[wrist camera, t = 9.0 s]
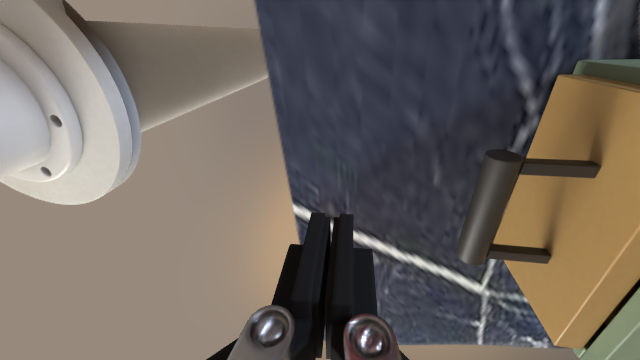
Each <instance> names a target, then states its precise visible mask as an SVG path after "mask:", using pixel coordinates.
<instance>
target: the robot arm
mask: <svg viewBox="0 0 640 360" xmlns="http://www.w3.org/2000/svg"><path fill="white" fill-rule="evenodd" d="M82 147H83V140H82V130H81V126H80V123H79V119H78V116H77V113H76V111H75V109H74V107H73V104H72V102H71V100H70V98H69V96H68V95H67V93H66V91H65V90H64V88H63V86H62V85H61V83H60V81H59V80H58V79H57V77H56V76H55V75H54V73H53V72H52V71H51V69H50V68H49V67H48V66H47V64H46V63H45V62H44V61H43V60H42V59H41V58H40V57H39V56H38V55H37V54H36V52H35V51H34V50H33V49H32V48H31V47H30V46H29V45H28V44H26V43H25V42H24V41H23V40H22V39H20V38H19V37H18V36H17V35H16V34H15V33H13V32H12V31H11V30H10V29H8V28H7V27H5V26H4V25H2V24H1V23H0V178H3V177H5V176H8V175H9V176H12V177H15V178H18V179H22V180H26V181H33V182H47V181H51V180H54V179H57V178H59V177H61V176H63V175H65V174H67V173H69V172H71V171H72V170H73V169H74V168H75V167H76V166H77V164H78V162H79V160H80V158H81V154H82ZM325 326H326V359H331V360H409V359H408V358H407V357H406V356H405V355H404V354H403V353H402V352H401V351H400V350H399V347H398V344H397V340H396V337H395V334H394V332H393V330H392V328H391V327H390V326H389V324H388V323H387V322H386V321H385V320H383V319H382V318H381V317H379V316H378V313H377V301H376V289H375V276H374V264H373V252H372V249H361V248H353V215H352V214H340V217H334V225H333V234H332V243H331V235H330V217H326V216H325V213H311V217H310V221H309V225H308V229H307V233H306V238H305V242H304V245H298V244H291V245H290V246H289V249H288V252H287V255H286V258H285V262H284V265H283V269H282V272H281V275H280V278H279V281H278V285H277V288H276V291H275V294H274V298H273V301H272V304H271V305H269V306H265V307H263V308H261V309H259V310H257V311H256V312H255V313H254V314H252V316H251V317H250V318H249V320H248V321H247V323H246V325H245V327H244V329H243V330H242V332H241V334H240V336H239V338H238V339H236V340H235V341H233V342H232V343H230V344H229V345H227V346H226V347H224V348H223V349H221V350H220V351H218V352H217V353H216V354H214V355H213V356H211V357H210V358H208V359H207V360H315V359H316V358H321V357H322V349H323V339H324V329H325Z"/></svg>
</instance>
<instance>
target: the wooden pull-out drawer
mask: <svg viewBox="0 0 640 360" xmlns="http://www.w3.org/2000/svg"><path fill="white" fill-rule="evenodd" d="M518 174H520V175H519V177H518V180H517V182H516V185H515V187H514V190H513V193H512V195H511V198H510V200H509V203H508V205H507V208H506V211H505V213H504V216H503V218H502V221H501V223H500V220H501V217H502V215H503V212H504V210H505V207H506V204H507V202H508V199H509V197H510V194H511V192H512V189H513V186H514V184H515V181H516V179H517V176H518ZM499 223H500V226H499V228H498V225H499ZM497 228H498V231H497V234H496V236H495V239H494V241H493V238H494V235H495V233H496V230H497ZM492 241H493V243H494V244H491V243H492ZM456 255H457V257H458V258H459V259H460V260H461V261H463V262H465V263H467V264H469V265H474V266H478V265H481V264H483V263H484V261H485V259H486V257H487V258H488V259H498V260H504V262H505V263H506V265H507V267H508V269H509V270H510V272H511V274H512V275H513V277H514V279H515V280H516V282H517V284H518V285H519V287H520V289H521V290H522V292H523V294H524V295H525V297H526V299H527V300H528V302H529V304H530V305H531V307H532V309H533V310H534V312H535V314H536V315H537V317H538V319H539V320H540V322H541V324H542V325H543V327H544V329H545V330H546V332H547V334H548V335H549V337H550V339H551V340H552V342H553V344H554V345H555V346H562V347H570V348H577V349H582V348H583V347H584V346H585V345H586V343H587V342H588V341H589V340H590V338H591V337H592V336H593V335H594V334H595V332H596V331H597V330H598V329H599V327H600V326H601V325H602V324H603V323H604V324H605V325H606V326H608V324H609V323H610V322H611V321H612V320H613V318H614V317H615V316H616V315H617V314H618V312H619V311H620V310H621V309H622V308H623V306H624V305H625V304H626V303H627V302H628V300H629V299H630V298H631V297H632V296H633V295H634V293H635V292H636V291H637V290H638V289H639V287H640V85H638V84H632V83H627V82H621V81H616V80H611V79H605V78H600V77H595V76H589V75H584V74H580V75H558V77H557V80H556V82H555V85H554V87H553V90H552V93H551V95H550V98H549V100H548V103H547V105H546V108H545V111H544V113H543V116H542V118H541V121H540V123H539V126H538V128H537V131H536V134H535V136H534V139H533V141H532V144H531V146H530V149H529V152H528V154H527V157H526V158H523V157H522V156H521V155H519V154H517V153H514V152H511V151H507V150H489V151H487V152H486V154H485V157H484V160H483V164H482V167H481V170H480V174H479V177H478V180H477V183H476V187H475V190H474V193H473V196H472V200H471V203H470V206H469V210H468V213H467V216H466V219H465V223H464V226H463V229H462V232H461V236H460V239H459V242H458V245H457V249H456Z"/></svg>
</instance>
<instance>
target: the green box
mask: <svg viewBox="0 0 640 360" xmlns="http://www.w3.org/2000/svg"><path fill="white" fill-rule="evenodd" d="M580 74H584V75H589V76H595V77H600V78H605V79H611V80H616V81H621V82H627V83H632V84H638V85H640V59H623V60H579V61H578V62H577V65H576V67H575V69H574V72H573V74H572V75H580ZM572 349H573V350H574V352H575V353H576V355H577V357H578V358H580V360H640V287H639V289H638V290H637V291H636V292H635V293H634V295H633V296H632V297H631V298H630V299H629V300H628V302H627V303H626V304H625V305H624V306H623V308H622V309H621V310H620V311H619V312H618V314H617V315H616V316H615V317H614V318H613V320H612V321H611V322H610V323H609V324H608V326H606V325H605V324H604V323H603V324H602V325H601V326H600V327H599V329H598V330H597V331H596V332H595V334H594V335H593V336H592V337H591V338H590V340H589V341H588V342H587V343H586V345H585V346H584V347H583V348H582V349H577V348H572Z"/></svg>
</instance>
